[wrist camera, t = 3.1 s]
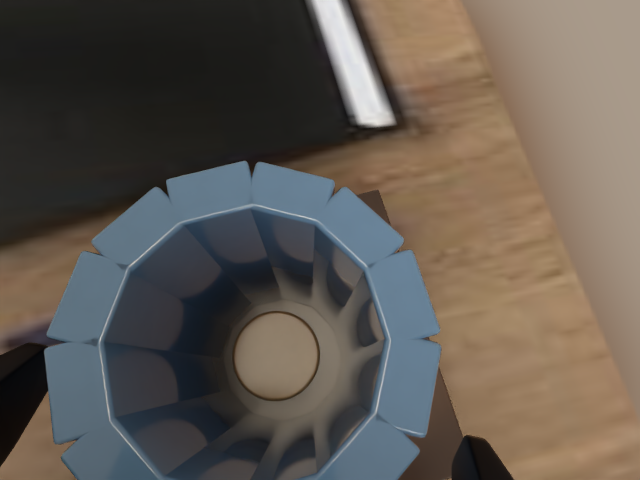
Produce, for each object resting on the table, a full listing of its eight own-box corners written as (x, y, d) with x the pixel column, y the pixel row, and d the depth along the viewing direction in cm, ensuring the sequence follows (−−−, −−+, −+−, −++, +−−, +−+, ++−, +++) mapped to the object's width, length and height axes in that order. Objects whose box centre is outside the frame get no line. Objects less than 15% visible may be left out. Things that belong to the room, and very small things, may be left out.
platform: (453, 457, 18) (520, 498, 12) (182, 544, 17) (115, 635, 11) (370, 209, 21) (393, 148, 15) (135, 270, 20) (63, 229, 14)
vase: (384, 417, 16) (498, 489, 6) (220, 468, 15) (71, 631, 6) (337, 260, 18) (372, 128, 8) (187, 301, 17) (26, 211, 7)
